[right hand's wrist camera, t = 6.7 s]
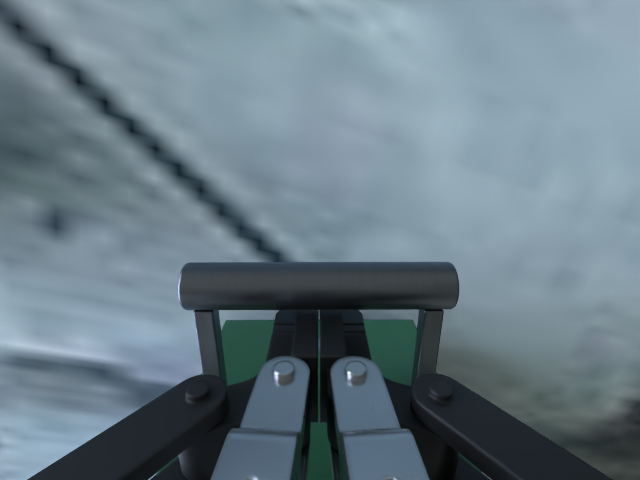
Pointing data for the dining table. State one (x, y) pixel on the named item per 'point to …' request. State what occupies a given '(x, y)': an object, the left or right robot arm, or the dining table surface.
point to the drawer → (318, 294)
